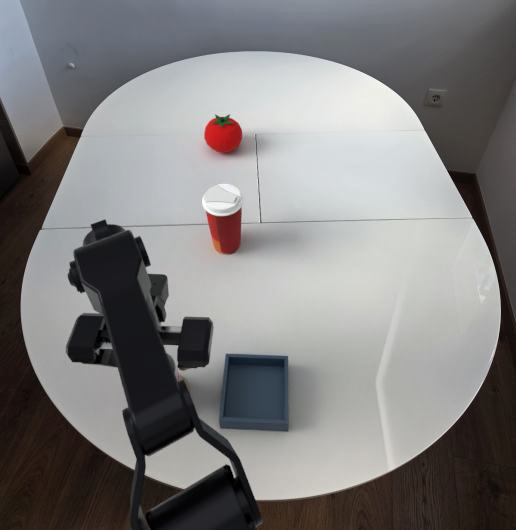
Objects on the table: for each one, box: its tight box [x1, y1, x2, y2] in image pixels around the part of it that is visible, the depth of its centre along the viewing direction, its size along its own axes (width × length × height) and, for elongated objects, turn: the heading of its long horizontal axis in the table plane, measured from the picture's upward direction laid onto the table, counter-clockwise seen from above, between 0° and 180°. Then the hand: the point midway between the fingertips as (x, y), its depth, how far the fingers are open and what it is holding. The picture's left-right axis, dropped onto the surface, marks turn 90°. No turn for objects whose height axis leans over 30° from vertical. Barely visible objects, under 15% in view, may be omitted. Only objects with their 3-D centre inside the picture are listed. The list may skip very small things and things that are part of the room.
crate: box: [218, 352, 289, 432], centre depth 71 cm, size 11×11×4 cm
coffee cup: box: [201, 183, 244, 255], centre depth 90 cm, size 8×8×15 cm
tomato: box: [203, 114, 243, 154], centre depth 117 cm, size 10×10×10 cm
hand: (152, 365), depth 64 cm, fingers open, 9 cm apart
